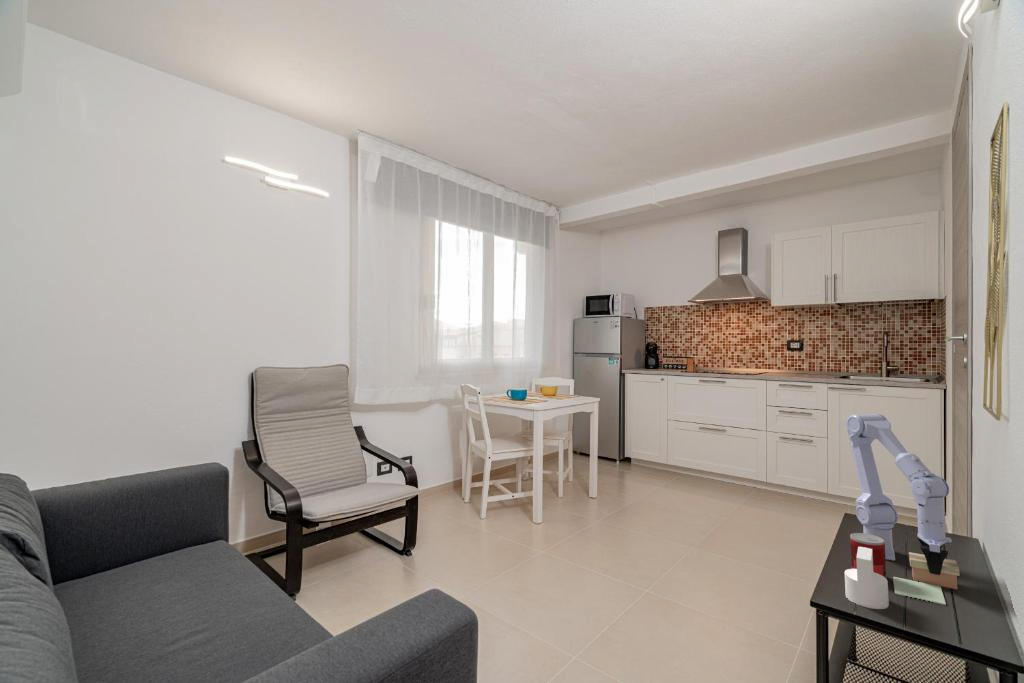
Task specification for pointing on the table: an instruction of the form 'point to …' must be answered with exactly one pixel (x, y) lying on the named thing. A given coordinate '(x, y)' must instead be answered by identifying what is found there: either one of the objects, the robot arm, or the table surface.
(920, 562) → the beige block
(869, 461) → the robot arm
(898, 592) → the mat
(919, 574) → the brown and cream block
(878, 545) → the canned food
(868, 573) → the cylinder with rectangular tab
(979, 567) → the table surface
